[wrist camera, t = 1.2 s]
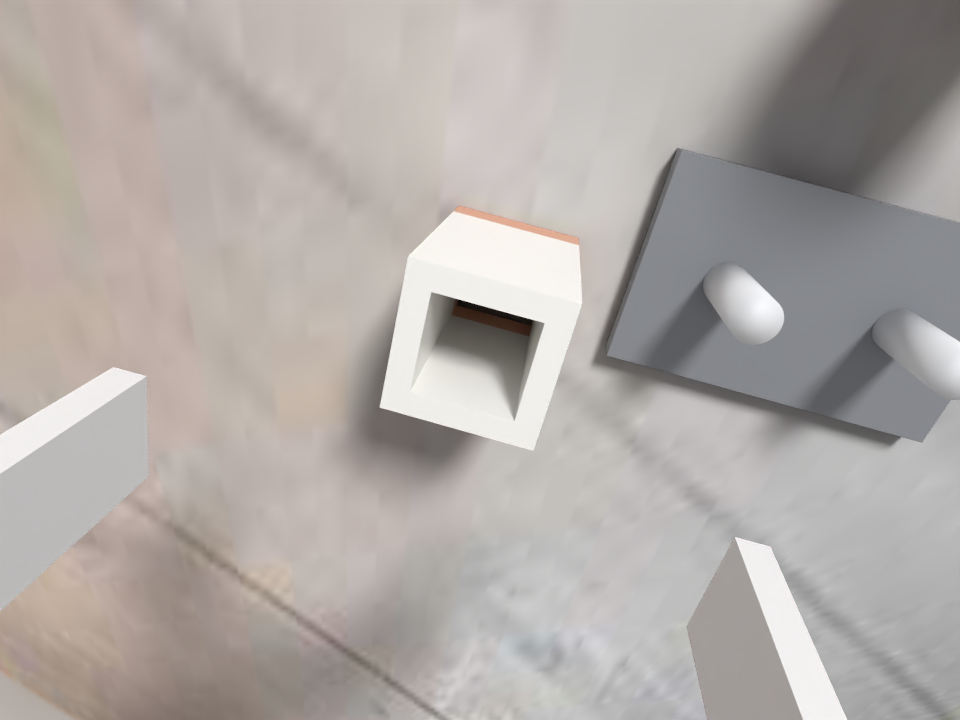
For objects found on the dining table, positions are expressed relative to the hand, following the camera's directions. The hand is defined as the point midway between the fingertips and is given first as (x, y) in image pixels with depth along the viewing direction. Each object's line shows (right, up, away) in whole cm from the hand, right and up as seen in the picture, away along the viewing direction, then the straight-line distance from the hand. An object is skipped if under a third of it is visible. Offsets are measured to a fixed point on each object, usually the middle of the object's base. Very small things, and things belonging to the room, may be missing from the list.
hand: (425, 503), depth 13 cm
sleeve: (+2, +7, +17) cm, 19 cm away
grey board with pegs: (+17, +6, +15) cm, 23 cm away
